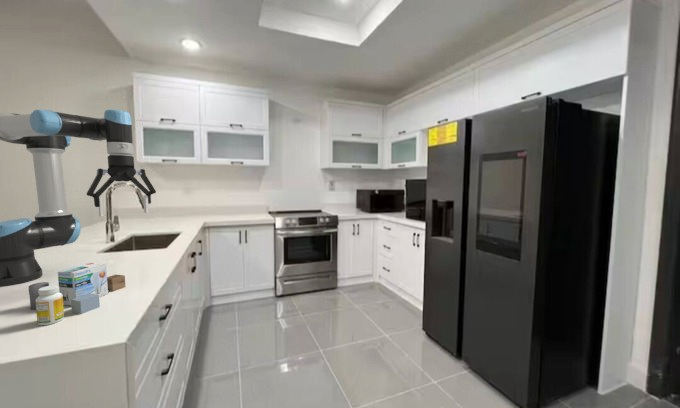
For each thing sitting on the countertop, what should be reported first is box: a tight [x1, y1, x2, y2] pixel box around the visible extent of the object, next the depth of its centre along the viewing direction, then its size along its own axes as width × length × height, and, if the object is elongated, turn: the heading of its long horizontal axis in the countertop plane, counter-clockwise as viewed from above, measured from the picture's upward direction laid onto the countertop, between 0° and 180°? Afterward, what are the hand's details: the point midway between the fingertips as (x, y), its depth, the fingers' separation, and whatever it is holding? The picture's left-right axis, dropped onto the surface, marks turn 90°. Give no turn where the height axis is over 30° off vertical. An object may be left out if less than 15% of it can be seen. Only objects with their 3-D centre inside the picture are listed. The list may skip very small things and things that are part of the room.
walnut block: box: [107, 274, 126, 292], centre depth 106 cm, size 4×4×4 cm
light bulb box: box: [57, 262, 109, 307], centre depth 97 cm, size 11×7×11 cm, turn 168°
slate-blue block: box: [71, 293, 101, 315], centre depth 89 cm, size 4×5×4 cm
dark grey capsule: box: [28, 281, 50, 311], centre depth 92 cm, size 4×4×7 cm
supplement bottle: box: [35, 284, 65, 326], centre depth 82 cm, size 5×5×10 cm
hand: (125, 214), depth 108 cm, fingers open, 13 cm apart
